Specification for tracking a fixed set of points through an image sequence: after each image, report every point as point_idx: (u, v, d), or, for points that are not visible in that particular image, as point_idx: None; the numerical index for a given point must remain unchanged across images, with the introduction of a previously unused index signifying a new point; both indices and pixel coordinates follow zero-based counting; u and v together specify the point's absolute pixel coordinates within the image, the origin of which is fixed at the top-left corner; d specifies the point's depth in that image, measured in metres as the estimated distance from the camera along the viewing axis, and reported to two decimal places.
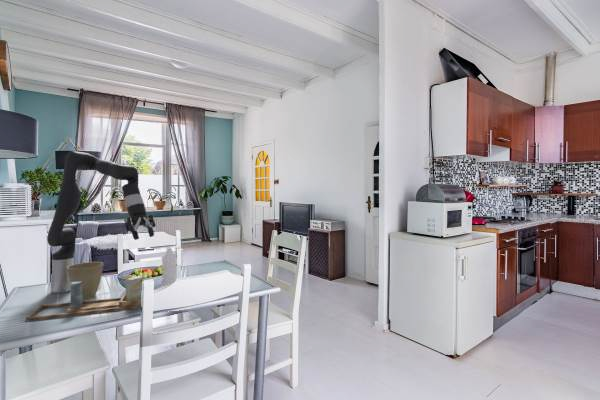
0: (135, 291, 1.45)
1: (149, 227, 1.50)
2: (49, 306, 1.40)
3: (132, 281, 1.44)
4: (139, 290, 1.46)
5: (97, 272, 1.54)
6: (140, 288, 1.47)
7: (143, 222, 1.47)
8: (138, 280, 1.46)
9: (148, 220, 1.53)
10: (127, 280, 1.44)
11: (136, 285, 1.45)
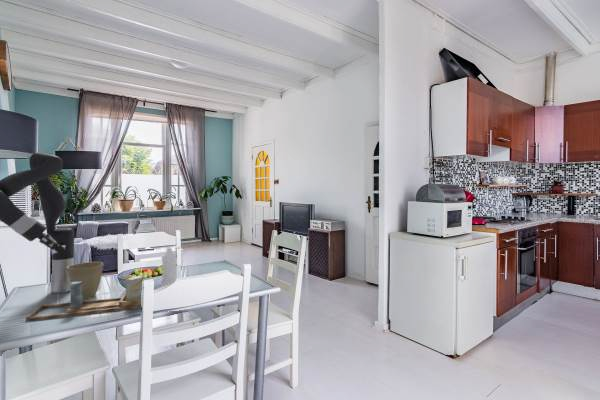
0: (135, 291, 1.45)
1: None
2: (49, 306, 1.40)
3: (132, 281, 1.44)
4: (139, 290, 1.46)
5: (97, 272, 1.54)
6: (140, 288, 1.47)
7: None
8: (138, 280, 1.46)
9: None
10: (127, 280, 1.44)
11: (136, 285, 1.45)
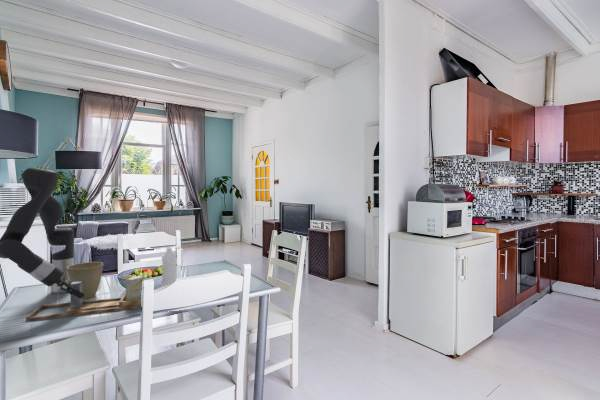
0: (135, 291, 1.45)
1: None
2: (49, 306, 1.40)
3: (132, 281, 1.44)
4: (139, 290, 1.46)
5: (97, 272, 1.54)
6: (140, 288, 1.47)
7: None
8: (138, 280, 1.46)
9: None
10: (127, 280, 1.44)
11: (136, 285, 1.45)
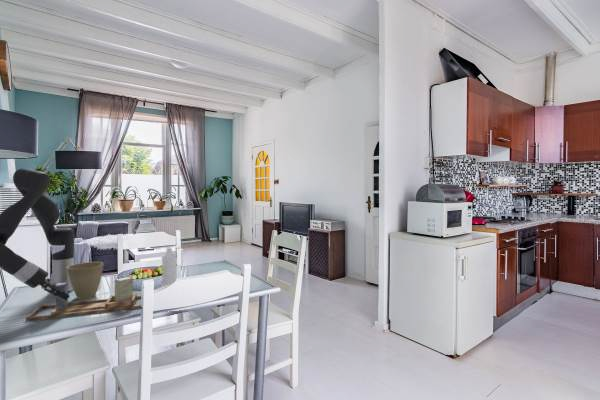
0: (124, 292, 1.43)
1: None
2: (49, 306, 1.40)
3: (121, 282, 1.42)
4: (128, 291, 1.45)
5: (97, 272, 1.54)
6: (129, 289, 1.45)
7: None
8: (127, 281, 1.44)
9: (52, 287, 1.30)
10: (116, 281, 1.43)
11: (125, 286, 1.43)
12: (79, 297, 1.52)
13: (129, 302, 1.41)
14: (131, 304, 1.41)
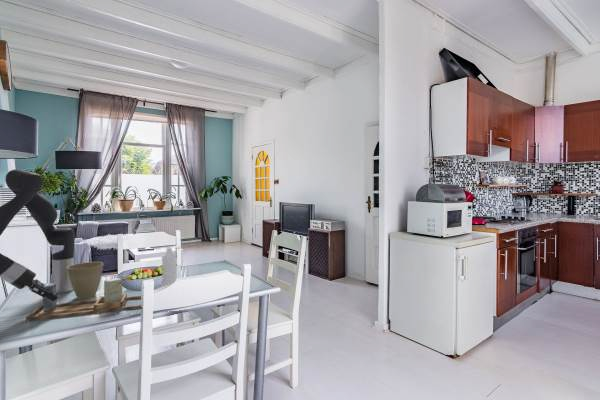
0: (114, 293, 1.42)
1: None
2: None
3: (110, 283, 1.41)
4: (118, 292, 1.43)
5: (97, 272, 1.54)
6: (119, 290, 1.44)
7: None
8: (117, 282, 1.43)
9: (39, 288, 1.29)
10: (105, 282, 1.41)
11: (114, 287, 1.42)
12: (79, 297, 1.52)
13: (118, 303, 1.39)
14: (120, 305, 1.39)
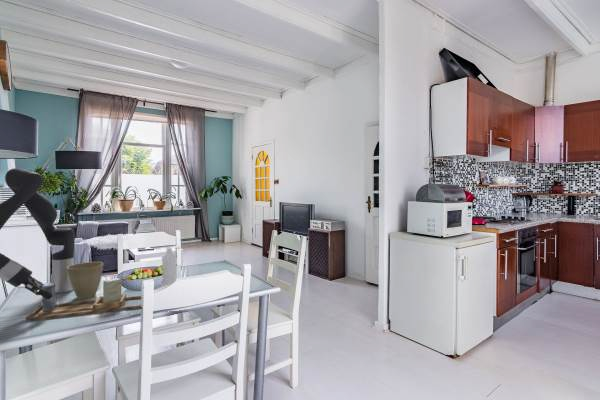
0: (113, 294, 1.42)
1: None
2: None
3: (109, 283, 1.40)
4: (117, 292, 1.43)
5: (97, 272, 1.54)
6: (118, 290, 1.44)
7: None
8: (116, 282, 1.43)
9: None
10: (104, 282, 1.41)
11: (113, 287, 1.42)
12: (79, 297, 1.52)
13: (117, 303, 1.39)
14: (119, 305, 1.39)
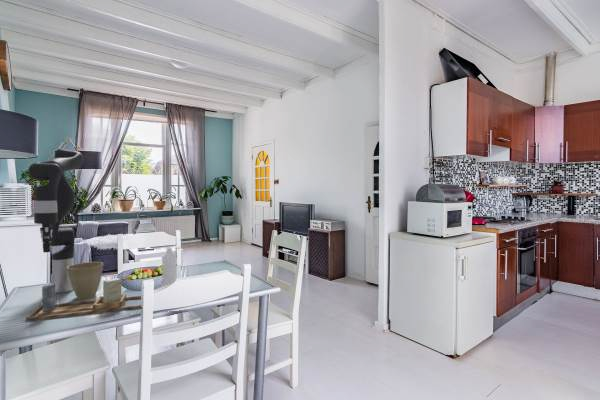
0: (113, 294, 1.42)
1: None
2: None
3: (109, 283, 1.40)
4: (117, 292, 1.43)
5: (97, 272, 1.54)
6: (118, 290, 1.44)
7: None
8: (116, 282, 1.43)
9: None
10: (104, 282, 1.41)
11: (113, 287, 1.42)
12: (79, 297, 1.52)
13: (117, 303, 1.39)
14: (119, 305, 1.39)
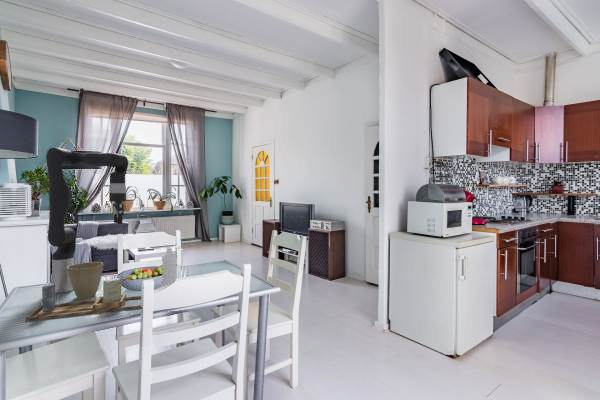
0: (113, 294, 1.42)
1: None
2: None
3: (109, 283, 1.40)
4: (117, 292, 1.43)
5: (97, 272, 1.54)
6: (118, 290, 1.44)
7: None
8: (116, 282, 1.43)
9: None
10: (104, 282, 1.41)
11: (113, 287, 1.42)
12: (79, 297, 1.52)
13: (117, 303, 1.39)
14: (119, 305, 1.39)
